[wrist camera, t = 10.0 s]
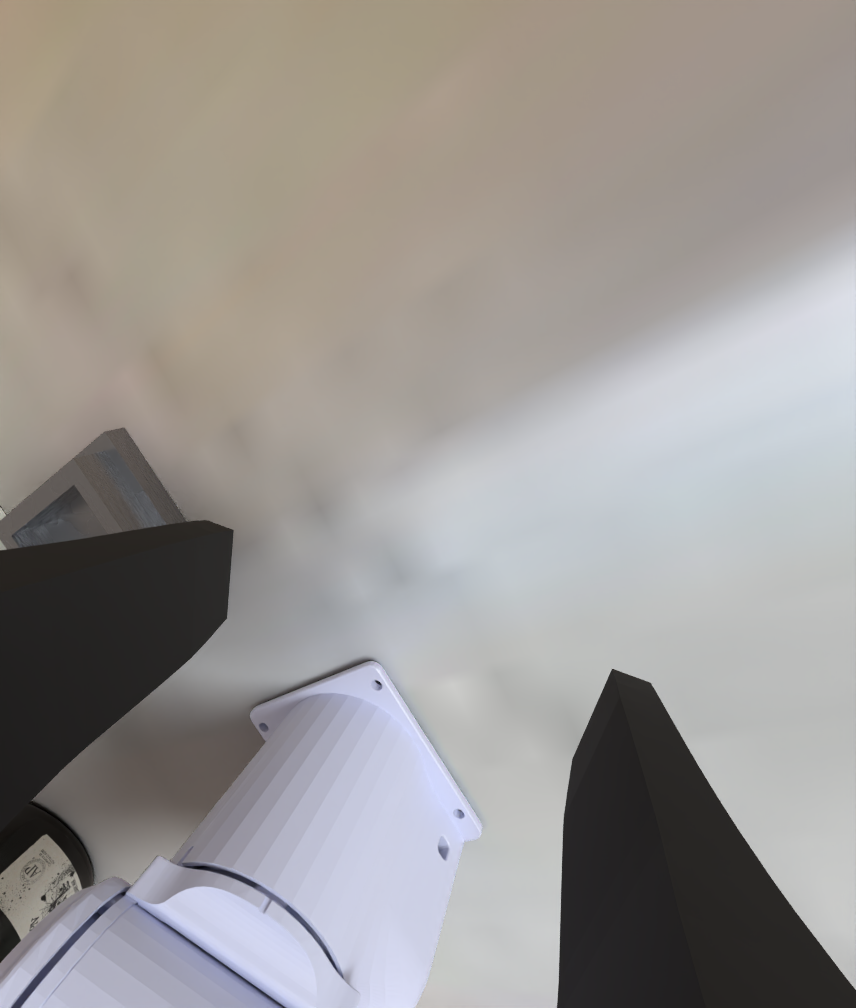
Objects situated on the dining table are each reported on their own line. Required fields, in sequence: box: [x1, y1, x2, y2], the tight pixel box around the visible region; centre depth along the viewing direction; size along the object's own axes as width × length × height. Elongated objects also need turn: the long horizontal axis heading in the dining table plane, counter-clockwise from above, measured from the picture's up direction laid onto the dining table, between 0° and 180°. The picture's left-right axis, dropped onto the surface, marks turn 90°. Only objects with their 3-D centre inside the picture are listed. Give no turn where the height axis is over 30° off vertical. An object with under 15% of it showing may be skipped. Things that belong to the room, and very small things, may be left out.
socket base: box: [0, 428, 186, 549], centre depth 24 cm, size 8×8×2 cm
